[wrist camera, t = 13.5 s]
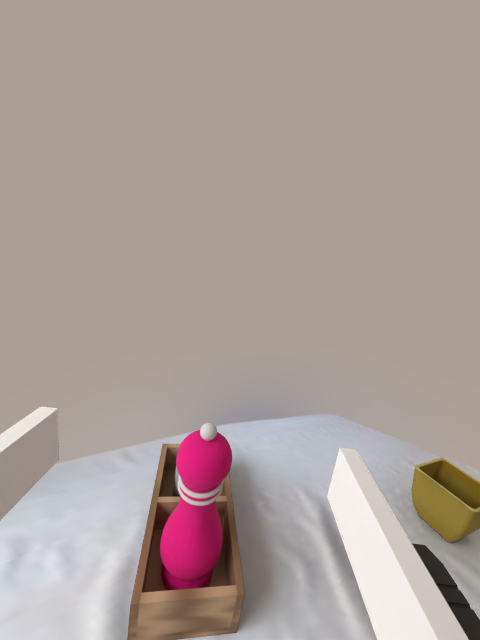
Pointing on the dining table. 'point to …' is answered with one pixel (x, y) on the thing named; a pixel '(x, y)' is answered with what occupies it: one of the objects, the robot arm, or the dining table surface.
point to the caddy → (185, 604)
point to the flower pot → (446, 499)
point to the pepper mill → (196, 511)
